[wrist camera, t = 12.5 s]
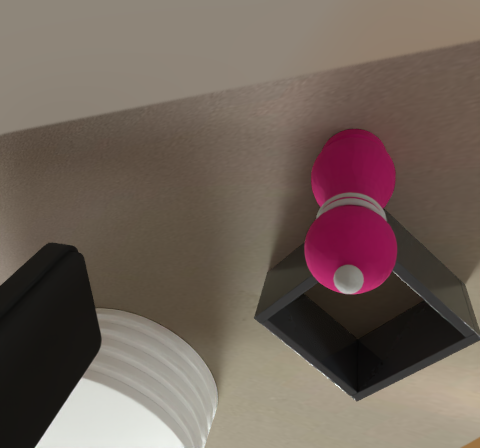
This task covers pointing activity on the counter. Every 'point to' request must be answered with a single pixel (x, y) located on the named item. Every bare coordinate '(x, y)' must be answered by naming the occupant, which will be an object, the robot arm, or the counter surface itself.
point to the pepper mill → (352, 214)
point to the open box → (381, 339)
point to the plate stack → (137, 391)
